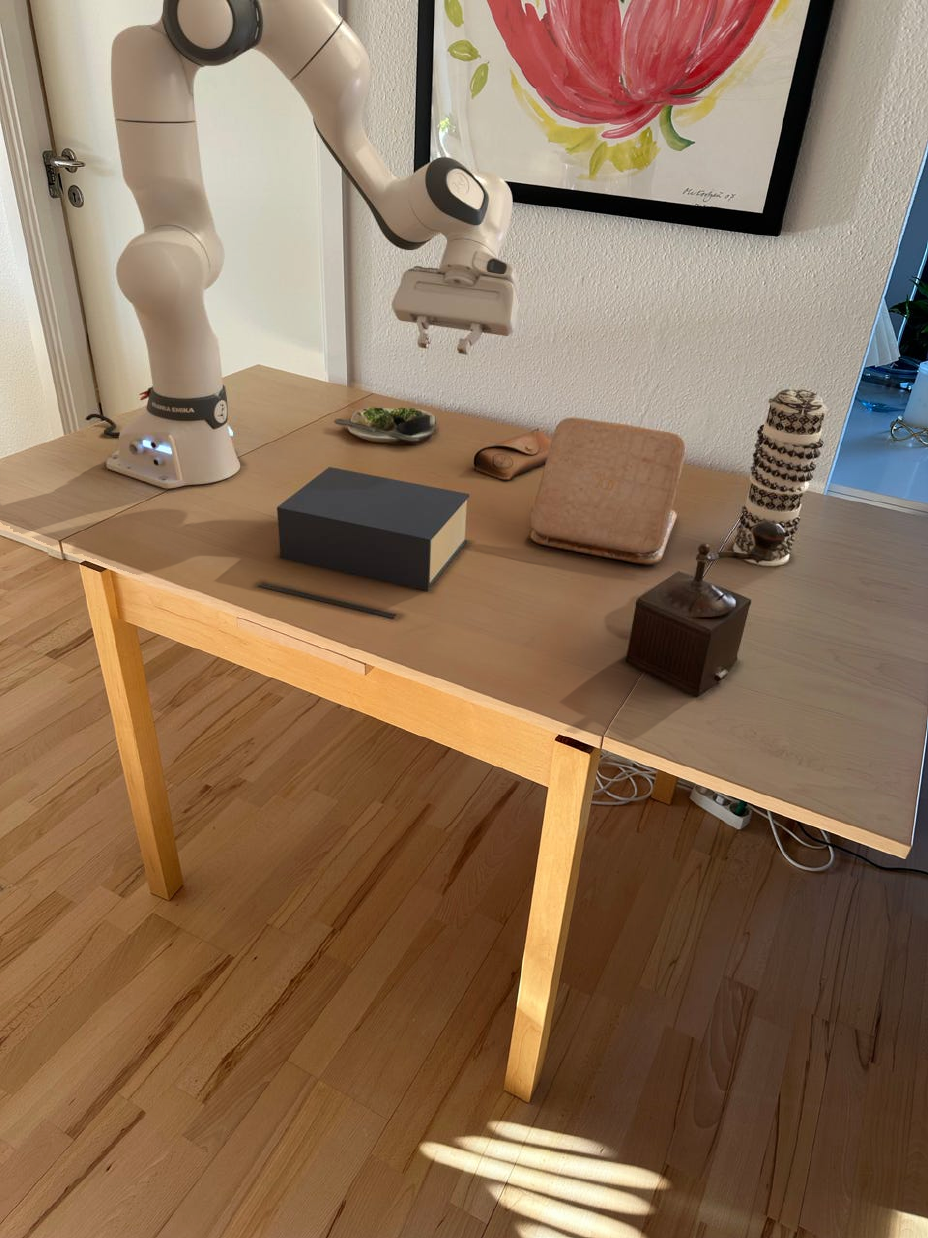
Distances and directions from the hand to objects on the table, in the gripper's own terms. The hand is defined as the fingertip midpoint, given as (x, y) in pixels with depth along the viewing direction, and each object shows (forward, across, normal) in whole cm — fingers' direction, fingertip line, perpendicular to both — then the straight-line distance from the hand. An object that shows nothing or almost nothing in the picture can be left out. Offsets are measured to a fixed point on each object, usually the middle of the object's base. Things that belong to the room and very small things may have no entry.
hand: (442, 349), depth 142 cm
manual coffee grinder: (+41, +48, -8) cm, 64 cm away
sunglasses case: (+5, +10, +28) cm, 31 cm away
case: (+20, +30, +14) cm, 38 cm away
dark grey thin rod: (+46, 0, -13) cm, 48 cm away
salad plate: (+2, -17, +31) cm, 36 cm away
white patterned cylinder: (+18, +54, +16) cm, 59 cm away
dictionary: (+34, 0, -1) cm, 34 cm away
